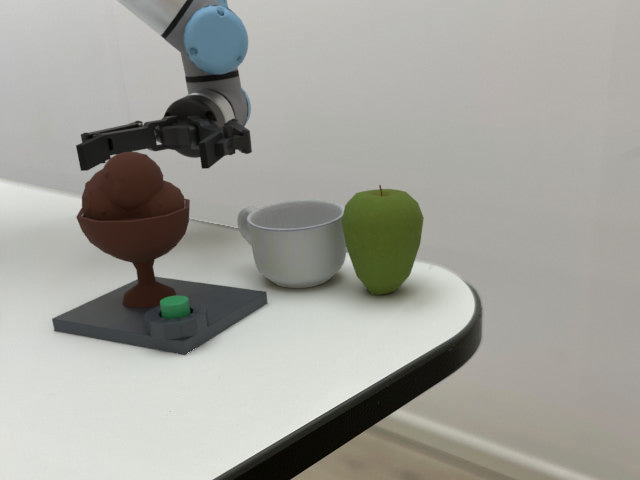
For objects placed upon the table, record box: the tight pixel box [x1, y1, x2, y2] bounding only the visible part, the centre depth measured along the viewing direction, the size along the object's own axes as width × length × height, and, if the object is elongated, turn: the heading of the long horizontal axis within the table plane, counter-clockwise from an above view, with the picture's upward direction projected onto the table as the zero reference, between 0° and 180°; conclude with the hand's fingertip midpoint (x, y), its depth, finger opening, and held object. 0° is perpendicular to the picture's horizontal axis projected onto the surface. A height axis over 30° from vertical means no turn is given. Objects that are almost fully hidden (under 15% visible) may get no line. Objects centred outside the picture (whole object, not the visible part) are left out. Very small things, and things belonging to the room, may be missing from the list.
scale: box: [51, 276, 268, 356], centre depth 77 cm, size 16×14×3 cm
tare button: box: [160, 296, 191, 319], centre depth 71 cm, size 3×3×2 cm
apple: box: [341, 184, 424, 296], centre depth 80 cm, size 9×8×12 cm
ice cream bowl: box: [75, 151, 191, 308], centre depth 76 cm, size 11×11×15 cm
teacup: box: [236, 198, 347, 289], centre depth 86 cm, size 14×11×8 cm
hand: (141, 157), depth 82 cm, fingers open, 13 cm apart
